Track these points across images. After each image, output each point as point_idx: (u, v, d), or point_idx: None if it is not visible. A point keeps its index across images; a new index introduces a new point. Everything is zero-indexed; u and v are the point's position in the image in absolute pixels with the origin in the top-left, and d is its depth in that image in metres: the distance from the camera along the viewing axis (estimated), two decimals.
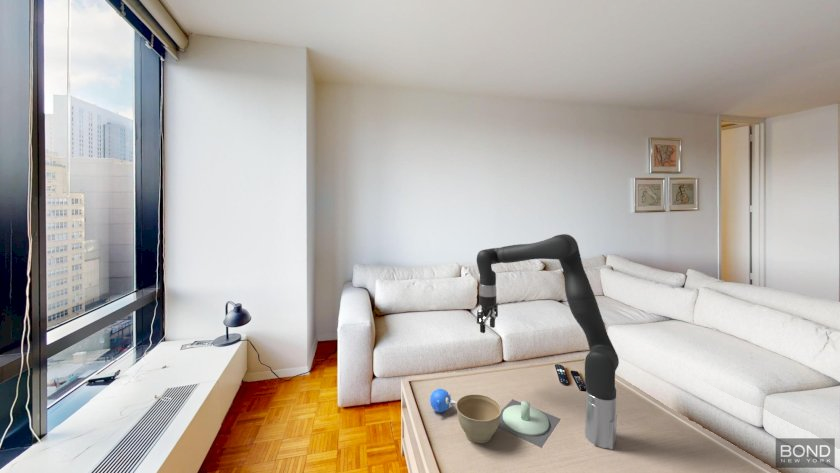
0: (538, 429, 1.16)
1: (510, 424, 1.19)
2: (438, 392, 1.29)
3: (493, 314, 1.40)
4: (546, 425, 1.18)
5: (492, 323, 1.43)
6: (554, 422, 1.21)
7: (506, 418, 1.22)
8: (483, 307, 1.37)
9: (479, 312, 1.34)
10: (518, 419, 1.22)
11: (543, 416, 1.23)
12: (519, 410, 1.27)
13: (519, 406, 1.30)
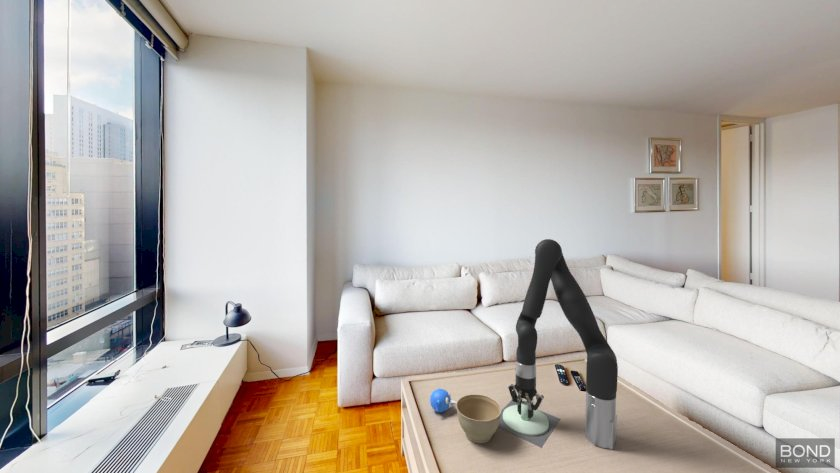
0: (538, 429, 1.16)
1: (510, 424, 1.19)
2: (438, 392, 1.29)
3: None
4: (546, 425, 1.18)
5: None
6: (554, 422, 1.21)
7: (506, 418, 1.22)
8: (535, 389, 1.19)
9: (542, 399, 1.17)
10: (518, 419, 1.22)
11: (543, 416, 1.23)
12: None
13: None
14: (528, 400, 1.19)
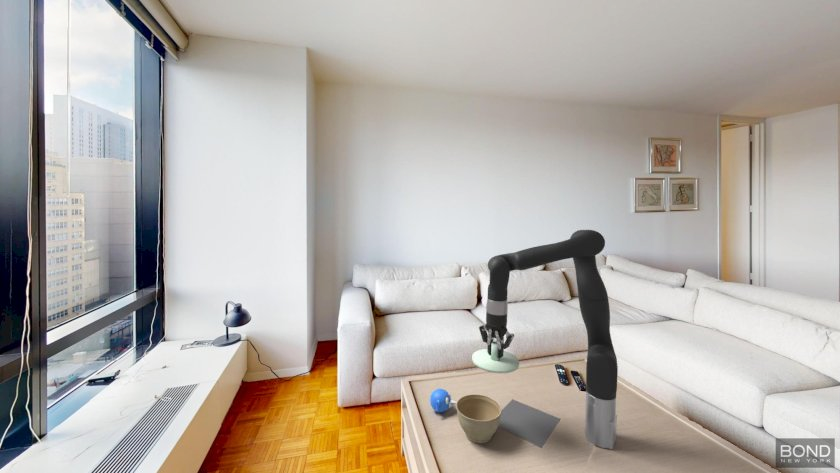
0: (506, 368, 1.10)
1: (478, 363, 1.14)
2: (438, 392, 1.29)
3: None
4: (516, 365, 1.13)
5: None
6: (554, 422, 1.21)
7: (475, 358, 1.17)
8: (505, 327, 1.13)
9: (512, 337, 1.12)
10: (487, 359, 1.16)
11: (514, 358, 1.18)
12: None
13: None
14: (498, 339, 1.14)
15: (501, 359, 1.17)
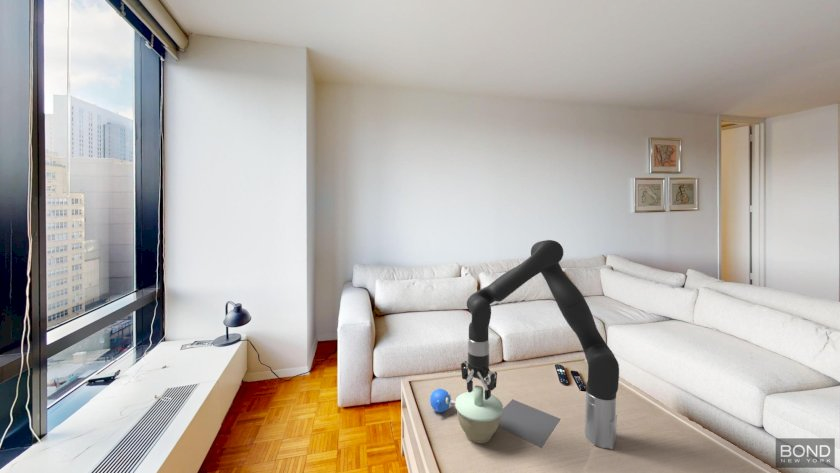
0: (490, 415, 1.08)
1: (461, 410, 1.11)
2: (438, 392, 1.29)
3: None
4: (499, 411, 1.11)
5: (471, 386, 1.17)
6: (554, 422, 1.21)
7: (458, 404, 1.15)
8: (487, 367, 1.11)
9: (495, 376, 1.09)
10: (471, 405, 1.14)
11: (498, 402, 1.16)
12: (474, 396, 1.20)
13: None
14: (482, 379, 1.11)
15: (485, 404, 1.15)
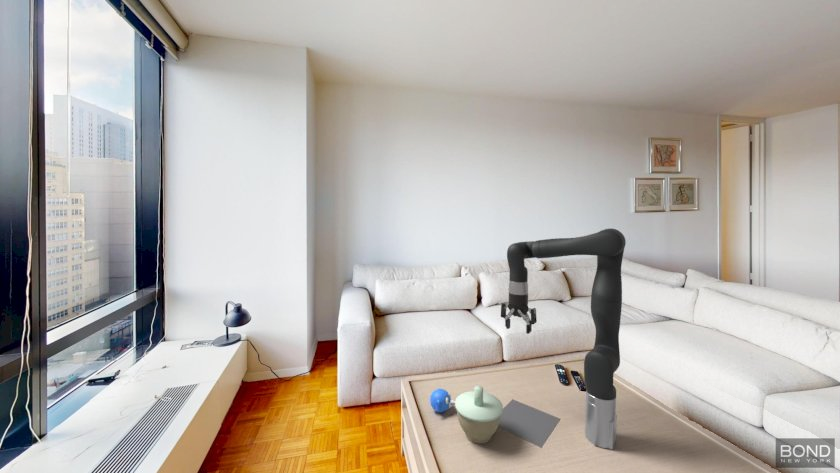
0: (489, 415, 1.08)
1: (461, 410, 1.11)
2: (438, 392, 1.29)
3: None
4: (499, 411, 1.11)
5: (509, 323, 1.31)
6: (554, 422, 1.21)
7: (458, 404, 1.15)
8: (527, 305, 1.25)
9: (534, 311, 1.23)
10: (471, 405, 1.14)
11: (498, 402, 1.16)
12: (474, 396, 1.20)
13: None
14: (523, 316, 1.25)
15: (484, 404, 1.14)
